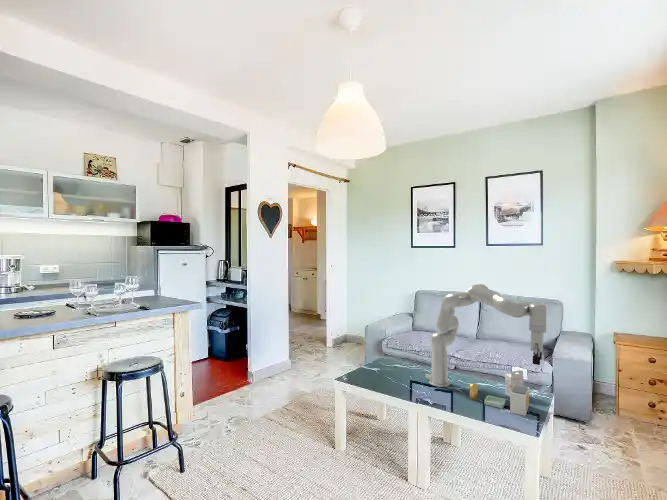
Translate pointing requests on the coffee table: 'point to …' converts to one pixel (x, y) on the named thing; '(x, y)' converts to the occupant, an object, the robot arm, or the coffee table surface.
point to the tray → (494, 401)
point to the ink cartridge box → (513, 380)
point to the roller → (473, 391)
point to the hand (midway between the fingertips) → (537, 361)
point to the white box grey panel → (519, 399)
